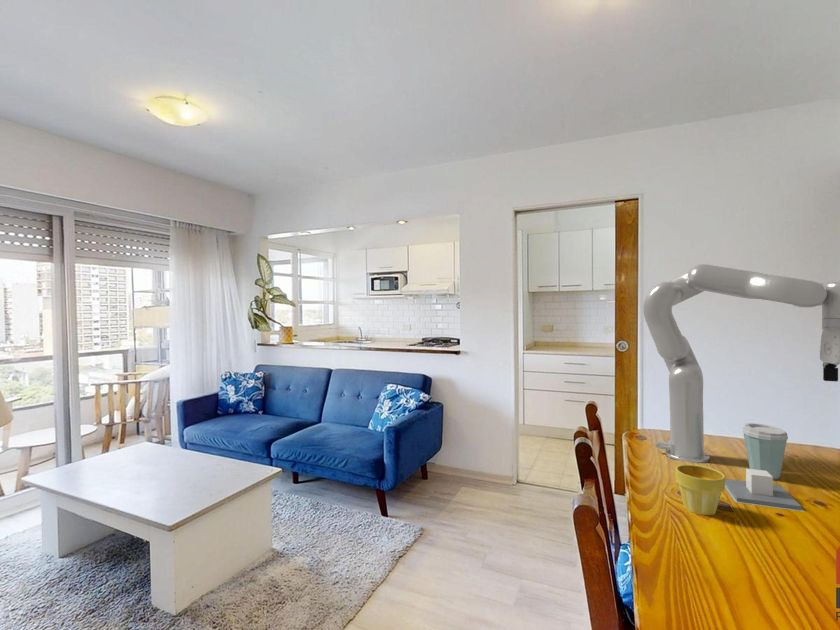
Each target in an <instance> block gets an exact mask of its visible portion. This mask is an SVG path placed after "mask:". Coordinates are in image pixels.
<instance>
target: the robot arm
mask: <svg viewBox="0 0 840 630" xmlns="http://www.w3.org/2000/svg"><path fill="white" fill-rule="evenodd" d="M704 292H710V293H716V294H720V295H726V296H731V297H736V298H742V299H749V300H762V301H763V300H764V301H769V302H777V303H781V304H788V305H793V306H794V307H797V308H814V307H815V308H816V307H818V306H821V330H822V333H821V338H820V345H819V348H820V349H819V360H820V361H822V367H823V368H822V369H823V371H822V373H823V374H822V375H823V376H822V377H823V378H822V379H823V381H824V382H839V367H838V365H840V281H829V282H824V283H822V282H821V283H819V282H817V281H813V280H807V279H801V278H795V277H787V276H781V275H774V274H768V273H763V272H758V271H752V270H751V271H749V270H744V269H737V268H733V267H732V268H731V267H724V266H718V265H713V264H712V265H711V264H707V263H706V264H698V265H694V266H693V267H692V268H691V269H690V270H689V271H687V272H685V273H684V274H682V275H680V276H678V277H677V276H676V277H675V278H673V279H672V280H669V281H663V282H660V283H658V284H656V285H655V286H654V287H652V289H651V290H650V291H649V292H648V294H647V295H646V297H645V299H644V303H643V307H642V309H643V310H642V312H643V317H644V320H645V322H646V325H647V327H648V330H649V333H650V336H651V337H652V340H653V341H654V344H655V347H656V351H657V353H658V355H659V356H660V357H661V359H663V361H664V363H665V365H666V367H667V369H668V371H669V375H668V392H669V393H668V394H669V395H668V396H669V424H670V425H669V426H670V427H669V428H670V430H669V431H670V432H669V433H670V435H669V437H670V439H668V441H665V442H661V441H654V447H655V448H659V449H660V450H665V451H664V453H665V455H666V456H667V457H668V458H670V459H672V460H675V461H680V462H684V463H685V462H686V463H690V464H691V463H692V464H704V463H705V464H706V463H708V462H709V461H710V455H709V454H707V453H706V452H704V451H705V447H704V446H705V445H704V440H705V439H704V436H705V435H704V428H705V427H704V376H703V371H702V368H701V366H700V365H699V363H698V360H697V357H696V355H695V353H694V352H693V349H692V347H691V344H690V342H689V340H688V339H687V338H686V337H685V336H684V334H682V332H681V331H680V328H679V326H678V324H677V321H676V319H675V317H674V315H673V312H672V311H673V309H672V308H673V307H674V306H676V305H678V304H680V303H682V302H684V301H686V300H688V299H691V298H693V297H695V296H697V295H699V294H702V293H704Z"/></svg>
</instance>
